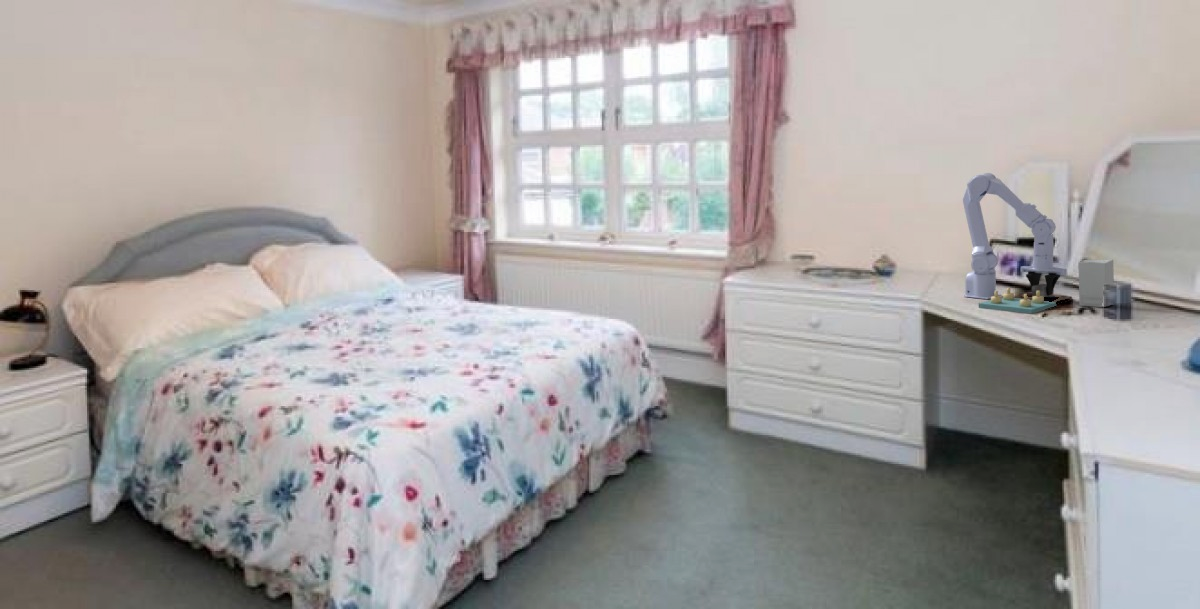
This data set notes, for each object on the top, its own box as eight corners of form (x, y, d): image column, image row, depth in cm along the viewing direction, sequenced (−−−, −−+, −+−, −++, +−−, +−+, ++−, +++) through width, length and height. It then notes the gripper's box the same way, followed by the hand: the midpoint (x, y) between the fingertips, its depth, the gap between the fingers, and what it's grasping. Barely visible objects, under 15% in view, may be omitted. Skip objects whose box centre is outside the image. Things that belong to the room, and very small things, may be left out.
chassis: (978, 307, 252) (978, 291, 251) (1003, 300, 259) (1003, 285, 258) (1031, 313, 236) (1031, 297, 235) (1056, 306, 243) (1056, 290, 242)
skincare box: (1114, 305, 238) (1115, 259, 236) (1105, 308, 235) (1107, 262, 232) (1085, 302, 245) (1087, 258, 243) (1077, 305, 242) (1078, 260, 239)
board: (1014, 299, 258) (1014, 285, 257) (1030, 295, 263) (1030, 281, 262) (1055, 304, 246) (1055, 289, 245) (1071, 299, 251) (1072, 284, 250)
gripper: (1072, 254, 248) (1071, 294, 250) (1029, 252, 260) (1028, 290, 262) (1060, 257, 244) (1059, 297, 247) (1017, 255, 257) (1016, 293, 259)
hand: (1042, 294), depth 254 cm, fingers closed on board, 4 cm apart
